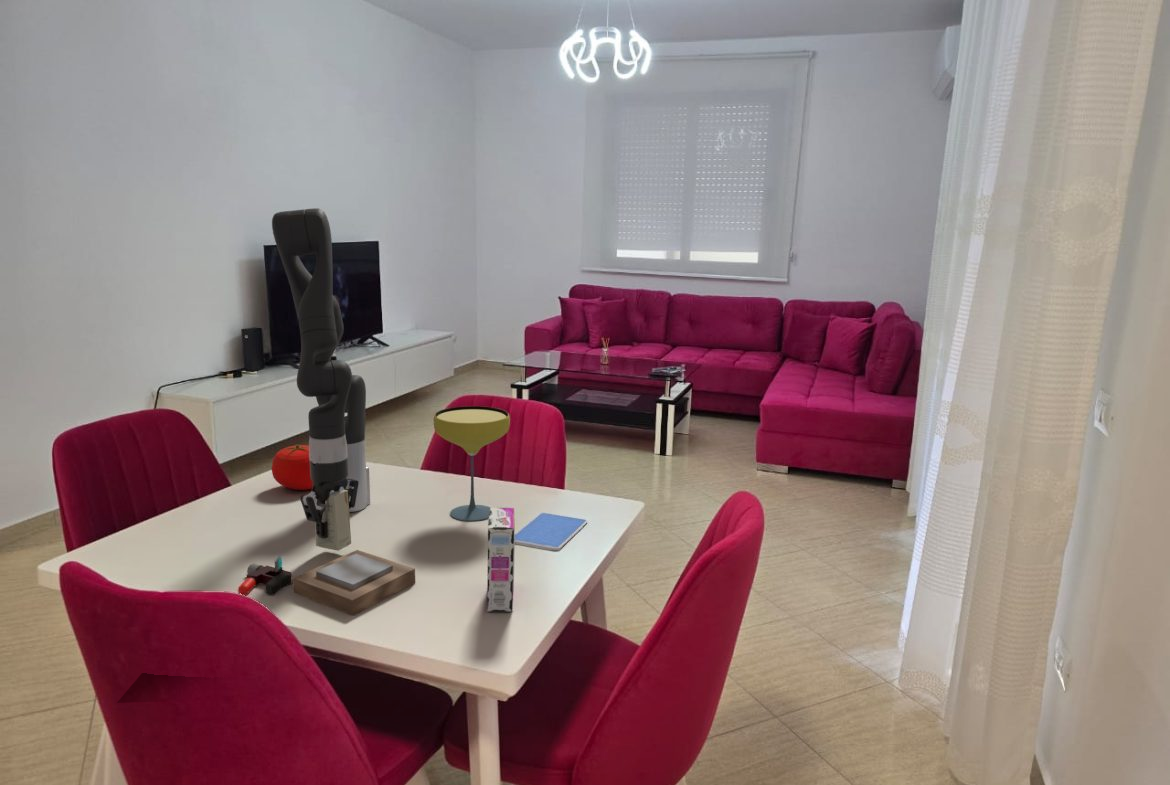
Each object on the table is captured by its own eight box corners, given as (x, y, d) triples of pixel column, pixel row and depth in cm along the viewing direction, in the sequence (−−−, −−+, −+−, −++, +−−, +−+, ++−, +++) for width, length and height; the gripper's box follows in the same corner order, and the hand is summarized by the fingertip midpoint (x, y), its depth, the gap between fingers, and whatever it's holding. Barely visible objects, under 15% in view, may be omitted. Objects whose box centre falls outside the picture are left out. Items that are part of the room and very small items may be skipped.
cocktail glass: (522, 518, 189) (523, 417, 184) (454, 532, 179) (453, 427, 174) (488, 496, 203) (488, 403, 198) (423, 508, 193) (421, 410, 188)
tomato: (337, 484, 210) (336, 442, 207) (300, 499, 198) (298, 455, 195) (301, 477, 215) (299, 436, 213) (262, 491, 203) (260, 448, 200)
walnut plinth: (357, 563, 161) (357, 545, 160) (415, 582, 153) (415, 563, 152) (293, 592, 148) (292, 573, 147) (353, 615, 140) (352, 595, 139)
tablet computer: (541, 516, 192) (541, 511, 192) (589, 523, 188) (589, 518, 187) (506, 544, 174) (506, 539, 174) (558, 554, 170) (558, 548, 170)
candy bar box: (514, 612, 142) (514, 528, 139) (486, 613, 142) (486, 528, 138) (514, 585, 153) (514, 506, 150) (488, 585, 153) (488, 506, 149)
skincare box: (352, 544, 166) (349, 490, 163) (338, 552, 162) (335, 496, 159) (328, 538, 169) (325, 485, 166) (314, 546, 165) (311, 491, 162)
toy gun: (255, 570, 157) (253, 548, 156) (299, 583, 152) (298, 560, 151) (214, 590, 149) (212, 566, 148) (260, 604, 144) (258, 579, 143)
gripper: (342, 445, 169) (345, 519, 173) (287, 461, 157) (292, 540, 160) (367, 450, 165) (370, 526, 169) (313, 468, 153) (318, 549, 157)
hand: (332, 533), depth 165 cm, fingers closed on skincare box, 4 cm apart
